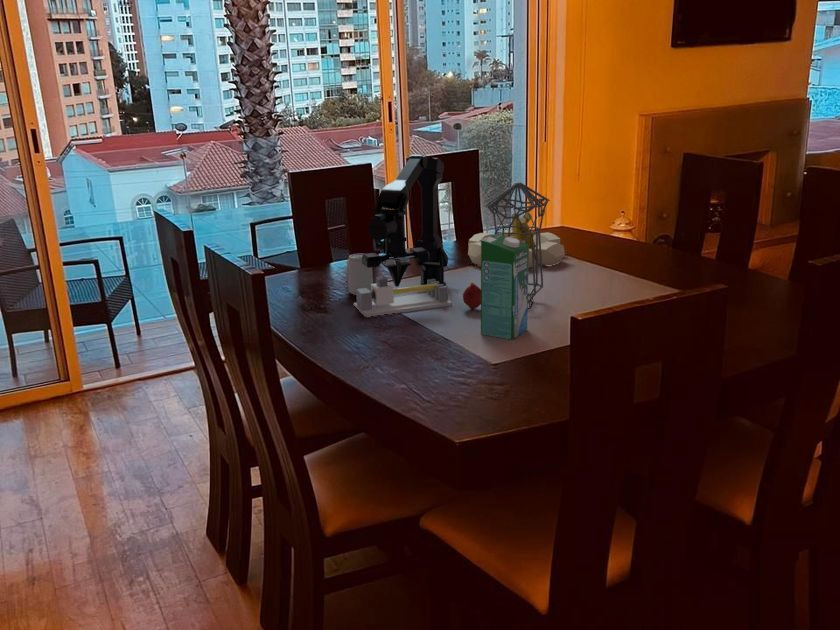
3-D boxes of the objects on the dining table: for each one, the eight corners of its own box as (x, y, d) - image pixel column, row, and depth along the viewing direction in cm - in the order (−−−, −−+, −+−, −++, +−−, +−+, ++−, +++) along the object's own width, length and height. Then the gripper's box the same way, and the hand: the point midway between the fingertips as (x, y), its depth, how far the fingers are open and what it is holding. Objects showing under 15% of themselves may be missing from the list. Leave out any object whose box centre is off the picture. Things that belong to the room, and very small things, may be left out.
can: (369, 297, 231) (367, 258, 227) (345, 296, 232) (343, 257, 228) (376, 290, 237) (374, 252, 234) (352, 289, 239) (350, 252, 235)
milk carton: (512, 340, 191) (514, 242, 184) (480, 334, 196) (480, 239, 188) (527, 329, 199) (529, 235, 191) (496, 324, 203) (497, 232, 195)
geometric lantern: (484, 309, 216) (483, 185, 206) (498, 295, 230) (498, 179, 220) (539, 313, 211) (541, 186, 201) (550, 299, 225) (552, 179, 215)
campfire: (570, 271, 255) (572, 220, 250) (469, 273, 256) (469, 223, 251) (554, 247, 288) (556, 202, 283) (465, 249, 289) (464, 204, 284)
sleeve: (387, 298, 222) (387, 275, 219) (393, 303, 217) (392, 279, 215) (371, 300, 220) (370, 277, 218) (377, 305, 215) (376, 281, 213)
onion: (485, 307, 218) (485, 280, 215) (480, 313, 213) (480, 285, 210) (466, 305, 220) (465, 279, 217) (460, 311, 215) (460, 284, 212)
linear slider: (435, 294, 231) (435, 275, 229) (451, 305, 220) (451, 285, 218) (353, 306, 222) (352, 286, 220) (366, 317, 211) (365, 296, 210)
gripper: (415, 224, 224) (417, 275, 229) (354, 231, 218) (357, 283, 223) (429, 231, 214) (430, 285, 219) (366, 238, 208) (369, 293, 213)
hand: (396, 286), depth 219 cm, fingers closed
